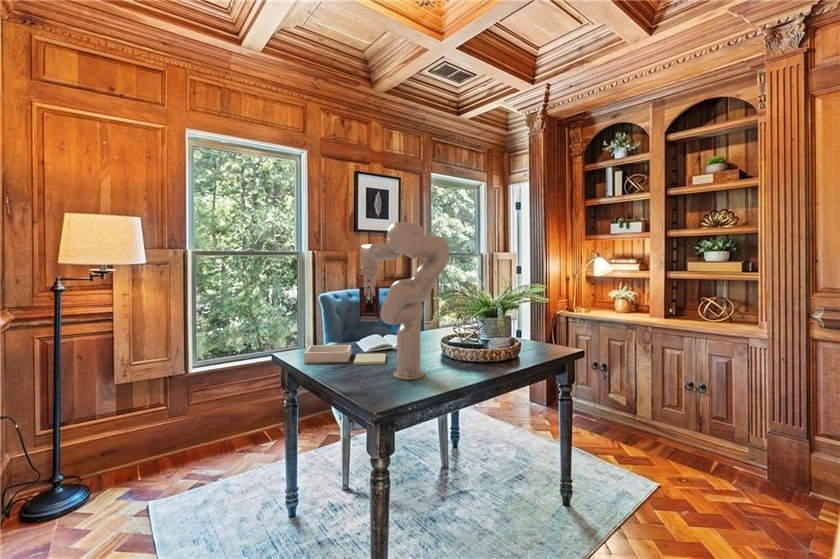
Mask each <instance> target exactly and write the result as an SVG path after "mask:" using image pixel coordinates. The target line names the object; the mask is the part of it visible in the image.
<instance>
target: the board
mask: <svg viewBox="0 0 840 559" xmlns="http://www.w3.org/2000/svg"><path fill="white" fill-rule="evenodd" d="M386 355H387V353H386V352H385V353H384V352H383V353H357V354H355V358H354V360H353V365H354V366H358V365H359V366H361V365H385V364H386V357H387V356H386Z"/></svg>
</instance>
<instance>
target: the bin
mask: <svg viewBox="0 0 840 559" xmlns="http://www.w3.org/2000/svg"><path fill="white" fill-rule="evenodd" d="M351 355H352V344H335V345H334V344H329V345H328V344H326V345H324V344H323V345H318V344H317V345H309V346H308V348H306V350H305V351H304V352H303V363H306V364H307V363H310V364H311V363H349V361H350V359H351Z"/></svg>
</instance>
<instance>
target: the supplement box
mask: <svg viewBox="0 0 840 559" xmlns="http://www.w3.org/2000/svg"><path fill="white" fill-rule="evenodd" d="M358 288H359V289H358V290H359V295H358V296H359V318H360V319H359V320H360V321H359V322H378V321H380V319H381V306H380V286H379V285H376V287H375V296H374V295H372V303H373V312H366V296H365V294H364V285H360V286H359V287H358ZM367 288H368V287H367ZM370 291H371V287H370ZM370 296H371V295H370Z"/></svg>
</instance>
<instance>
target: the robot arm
mask: <svg viewBox="0 0 840 559" xmlns="http://www.w3.org/2000/svg"><path fill="white" fill-rule="evenodd" d="M403 255H404V256H405V257H408V258H410V259H425V260H424V261H423V262H421V264H420V265H419V266H418V267H417V269H416V271H415V273H414V274H413V276H412V277H411V278H407V279H406V278H405V279H399V280H396V281H395V282H393V283H392V284H391V286H390V288H389V289H388V292H387V294H386V296H385V298H384V299H383V300H384V301H383V303H382V306H381V307H380V319H381V320H382V322H383V323H385V324H386V325H388V326H389V325H391V326H392V325H399V326H398V329H397V332H396V333H397V334H396V355H397V356H396V364H397V365H396V367H397V368H396V370H395V371H393V377H394V378H396V379H398V380H405V381H410V380H411V381H412V380H418V379H422V378H423V377H424V376H425V372H424V370H423V369H421V327H422V319H423V312H424V308H423V304H422V303H423V302H425V301H426V300H427V299H428V297H429V295H430V294H431V292H432V290H433V288H434V286H435V284H436V283H437V280H438V278H439V277H440V276H441V274H442V273H443V271H444V269H445V268H446V266H447V264H448V262H449V259H450V245H449V243H448V241H447V240H446V239H445V238H444V237H441V235H435V234H434V235H433V234H425V230H424V228H423V227H422V225H420V224H418V223H415V222H406V221H405V222H402V221H400V222H399V221H398V222H397V221H396V222H393V223H392V224H391V225H390V226H389V227H388V230H387V243H370V244H368V243H367V244H366V243H365V244H362V245H361V247H360V274H361V275H362V276H363V286H364V294H365V296H366V312H373V303H372V295H374V296H375V287H376V286H377V283H376V282H377V280H376V279H377V278H376V276H377V275H378V274H379V273H378V271H379V270H378V269H379V268H378V262H379V261H381V262H382V261H393V260H396V259H398V258H400V257H402V256H403ZM367 287H368V288H367ZM370 287H371V291H370ZM370 295H371V296H370Z"/></svg>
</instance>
